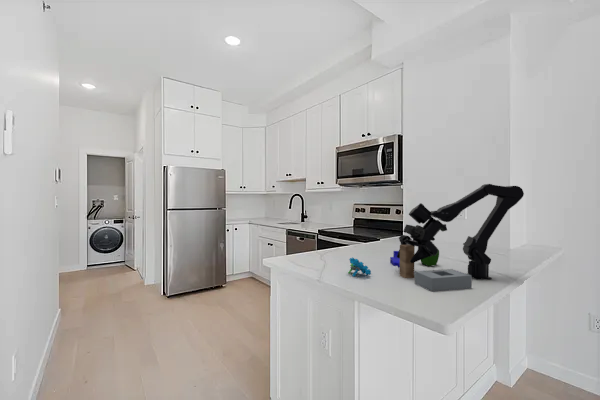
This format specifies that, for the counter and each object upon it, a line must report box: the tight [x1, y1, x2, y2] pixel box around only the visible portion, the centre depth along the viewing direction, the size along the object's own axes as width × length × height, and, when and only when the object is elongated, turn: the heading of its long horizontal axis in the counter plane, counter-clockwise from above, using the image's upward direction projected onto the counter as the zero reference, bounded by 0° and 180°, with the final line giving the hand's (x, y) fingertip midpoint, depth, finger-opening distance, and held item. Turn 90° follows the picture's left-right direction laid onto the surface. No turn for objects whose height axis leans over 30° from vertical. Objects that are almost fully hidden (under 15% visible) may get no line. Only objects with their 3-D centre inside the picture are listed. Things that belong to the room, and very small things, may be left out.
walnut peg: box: [399, 244, 416, 279], centre depth 119 cm, size 4×4×12 cm
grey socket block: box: [414, 268, 473, 293], centre depth 107 cm, size 16×10×4 cm, turn 104°
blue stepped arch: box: [389, 250, 400, 269], centre depth 137 cm, size 12×4×6 cm, turn 179°
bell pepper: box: [420, 249, 440, 267], centre depth 139 cm, size 8×8×10 cm
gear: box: [347, 257, 372, 278], centre depth 120 cm, size 11×6×10 cm
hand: (404, 259), depth 118 cm, fingers open, 9 cm apart
